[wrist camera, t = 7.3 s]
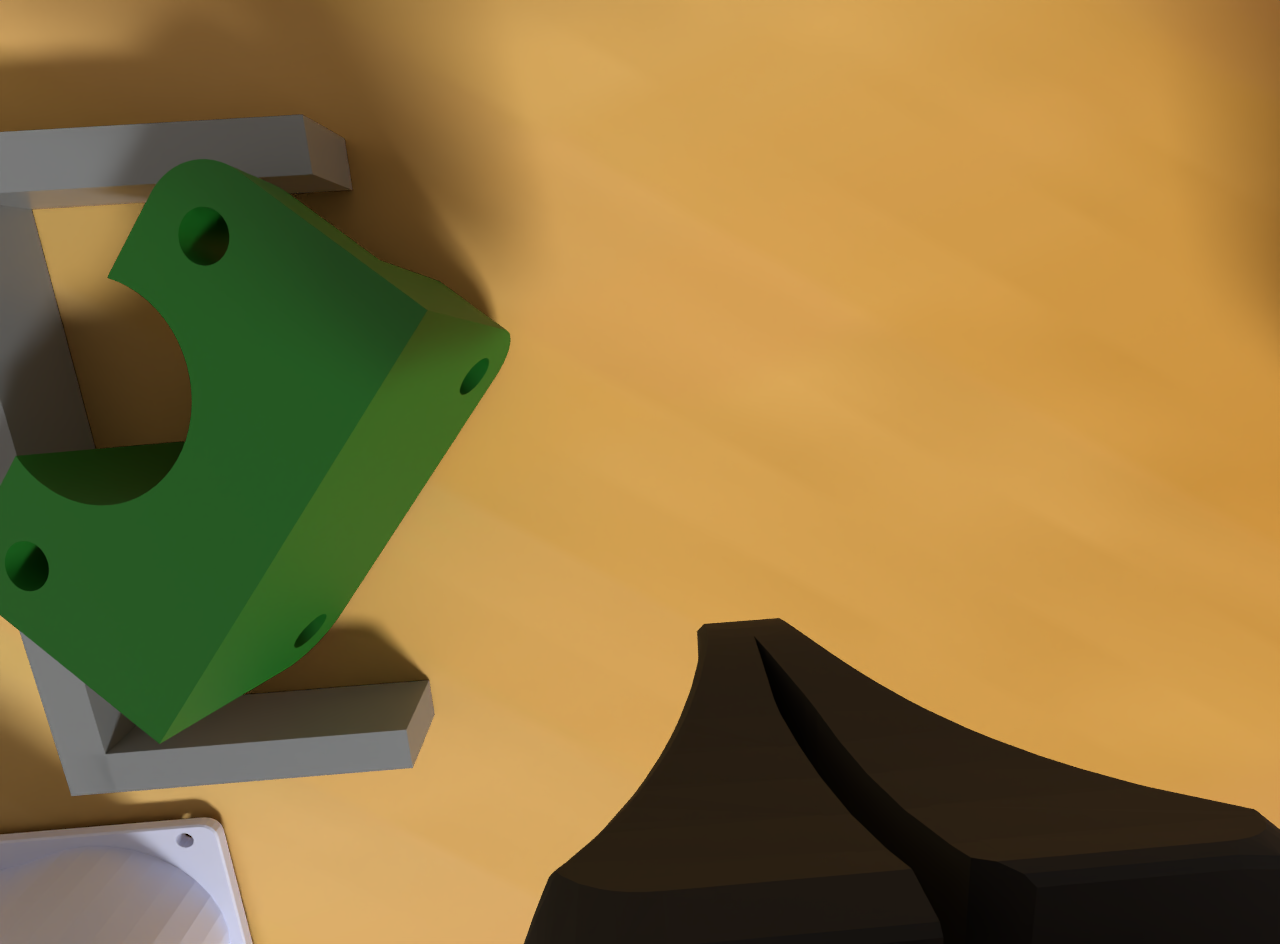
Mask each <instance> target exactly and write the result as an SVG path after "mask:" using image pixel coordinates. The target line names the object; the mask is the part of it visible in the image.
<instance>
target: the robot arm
mask: <svg viewBox="0 0 1280 944" xmlns="http://www.w3.org/2000/svg"><path fill="white" fill-rule="evenodd" d="M697 636H698V658H699V659H698V664H697V668H696V672H695V676H694V680H693V684H692V687H691V690H690V693H689V696H688V698H687V701H686V703H685V706H684V709H683V711H682V714H681V716H680V719H679V721H678V723H677V725H676V727H675V730H674V732H673V734H672V736H671V738H670V740H669V741H668V743H667V745H666V747H665V749H664V750H663V752H662V754H661V756H660V757H659V759H658V760H657V762H656V763H655V765H654V766H653V768H652V769H651V771H650V773H649V774H648V776H647V777H646V779H645V780H644V782H643V783H642V784H641V786H640V787H639V788H638V790H637V791H636V792H635V794H634V795H633V796H632V797H631V799H630V800H629V801H628V802H627V803H626V804H625V805H624V807H623V808H622V809H621V810H620V811H619V812H618V813H617V814H616V816H615V817H614V818H613V819H612V820H611V821H610V822H609V824H608V825H607V826H606V827H605V828H604V829H603V830H602V831H601V832H600V833H599V834H598V835H597V836H596V837H595V838H594V839H593V840H592V841H591V842H590V843H588V844H587V845H586V846H585V847H584V848H582V849H581V850H580V851H579V852H578V853H577V854H575V855H574V856H573V857H572V858H571V859H570V860H568V861H567V862H566V863H565V864H563V865H562V866H561V867H559V868H558V869H557V870H556V871H554V872H553V873H552V874H551V876H550V877H549V879H548V881H547V884H546V886H545V888H544V891H543V893H542V896H541V899H540V901H539V904H538V906H537V909H536V911H535V914H534V916H533V919H532V922H531V925H530V928H529V931H528V934H527V937H526V939H525V942H524V944H1280V829H1278V828H1277V827H1276V826H1275V825H1274V824H1272V823H1271V822H1270V821H1269V820H1267V819H1266V818H1265V817H1264V816H1262V815H1261V814H1260V813H1259V812H1257V811H1256V810H1254V809H1250V808H1245V807H1241V806H1236V805H1231V804H1226V803H1222V802H1217V801H1212V800H1207V799H1203V798H1198V797H1193V796H1188V795H1184V794H1179V793H1174V792H1169V791H1165V790H1160V789H1155V788H1151V787H1146V786H1142V785H1138V784H1134V783H1130V782H1127V781H1123V780H1119V779H1116V778H1112V777H1109V776H1105V775H1101V774H1098V773H1094V772H1091V771H1087V770H1083V769H1080V768H1076V767H1073V766H1070V765H1067V764H1064V763H1060V762H1057V761H1054V760H1051V759H1048V758H1045V757H1042V756H1039V755H1036V754H1033V753H1030V752H1028V751H1025V750H1022V749H1019V748H1017V747H1014V746H1011V745H1008V744H1006V743H1003V742H1000V741H997V740H995V739H992V738H990V737H987V736H985V735H982V734H980V733H977V732H975V731H972V730H970V729H968V728H965V727H963V726H961V725H959V724H957V723H955V722H952V721H950V720H948V719H946V718H944V717H942V716H939V715H937V714H935V713H933V712H931V711H929V710H926V709H924V708H922V707H921V706H919V705H917V704H915V703H913V702H911V701H909V700H907V699H905V698H903V697H902V696H900V695H898V694H896V693H895V692H893V691H891V690H889V689H887V688H886V687H884V686H882V685H880V684H879V683H877V682H875V681H874V680H872V679H870V678H869V677H867V676H865V675H864V674H862V673H860V672H859V671H857V670H856V669H854V668H853V667H851V666H849V665H848V664H846V663H845V662H843V661H842V660H840V659H839V658H837V657H836V656H834V655H833V654H831V653H830V652H828V651H827V650H825V649H824V648H823V647H821V646H820V645H818V644H817V643H815V642H814V641H813V640H811V639H810V638H808V637H807V636H805V635H804V634H803V633H801V632H800V631H798V630H797V629H795V628H794V627H792V626H791V625H789V624H788V623H786V622H785V621H783V620H781V619H780V618H775V619H763V620H750V621H737V622H724V623H712V624H704V625H703V626H702V627H701V628H700V629H699V630H698V631H697ZM185 834H189V835H190V836H192V838H190V837H188V836H186V835H185ZM0 944H253V943H252V939H251V935H250V931H249V927H248V923H247V919H246V915H245V911H244V907H243V904H242V900H241V896H240V892H239V888H238V884H237V880H236V876H235V872H234V868H233V864H232V860H231V856H230V852H229V849H228V845H227V841H226V837H225V833H224V829H223V827H222V825H221V824H220V823H219V822H218V821H217V820H215V819H212V818H206V817H202V818H190V819H178V820H166V821H154V822H142V823H130V824H119V825H107V826H95V827H83V828H71V829H59V830H47V831H35V832H23V833H12V834H0Z"/></svg>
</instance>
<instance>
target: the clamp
mask: <svg viewBox="0 0 1280 944" xmlns="http://www.w3.org/2000/svg"><path fill="white" fill-rule="evenodd" d="M107 278H109V279H112V280H115V281H118V282H120V283H122V284H124V285H126V286H128V287H129V288H131V289H133V290H134V291H136V292H137V293H139V294H140V295H141V296H142V297H144V298H145V299H146V300H147V301H148V302H149V303H150V304H151V305H152V306H153V307H154V308H156V310H157V311H158V312H159V313H160V314H161V316H162V317H163V318H164V319H165V321H166V322H167V324H168V325H169V327H170V328H171V330H172V331H173V333H174V335H175V337H176V339H177V340H178V343H179V345H180V347H181V350H182V352H183V355H184V358H185V361H186V364H187V368H188V372H189V377H190V384H191V395H192V408H191V419H190V425H189V430H188V434H187V438H186V441H185V442H184V441H182V442H171V443H159V444H147V445H136V446H124V447H112V448H101V449H89V450H77V451H66V452H54V453H42V454H31V455H19V456H15V458H14V460H13V462H12V464H11V466H10V468H9V470H8V472H7V474H6V476H5V478H4V479H3V481H2V483H1V485H0V615H1V616H2V617H3V618H4V619H6V620H7V621H8V622H9V623H11V624H12V625H13V626H14V627H16V628H17V629H18V630H19V631H21V632H22V633H23V634H24V635H25V636H27V637H28V638H29V639H30V640H32V641H33V642H34V643H35V644H37V645H38V646H39V647H40V648H42V649H43V650H44V651H45V652H46V653H48V654H49V655H50V656H51V657H53V658H54V659H55V660H56V661H58V662H59V663H60V664H61V665H63V666H64V667H65V668H66V669H67V670H69V671H70V672H71V673H72V674H74V675H75V676H76V677H77V678H79V679H80V680H81V681H82V682H84V683H85V684H86V685H87V686H89V687H90V688H91V689H92V690H93V691H95V692H96V693H97V694H98V695H100V696H101V697H102V698H103V699H105V700H106V701H107V702H108V703H110V704H111V705H112V706H113V707H114V708H116V709H117V710H118V711H119V712H121V713H122V714H123V715H124V716H126V717H127V718H128V719H129V720H131V721H132V722H133V723H134V724H135V725H137V726H138V727H139V728H140V729H142V730H143V731H144V732H145V733H147V734H148V735H149V736H150V737H152V738H153V739H154V740H155V741H156V742H158V743H159V744H160V743H162V742H164V741H166V740H167V739H169V738H171V737H172V736H174V735H176V734H177V733H179V732H181V731H182V730H184V729H186V728H187V727H189V726H191V725H193V724H194V723H196V722H198V721H199V720H201V719H203V718H204V717H206V716H208V715H209V714H211V713H213V712H214V711H216V710H218V709H220V708H221V707H223V706H225V705H226V704H228V703H230V702H231V701H233V700H235V699H236V698H238V697H240V696H241V695H243V694H245V693H246V692H248V691H250V690H252V689H253V688H255V687H257V686H258V685H260V684H262V683H263V682H265V681H267V680H268V679H270V678H272V677H273V676H275V675H277V674H279V673H280V672H282V671H284V670H285V669H287V668H289V667H290V666H291V665H293V664H294V663H296V662H297V661H298V660H299V659H301V658H302V657H303V656H304V655H305V654H306V653H308V652H309V651H310V650H311V649H312V648H313V647H314V646H315V645H316V644H317V643H318V642H319V641H320V640H321V639H322V637H323V636H324V635H325V634H326V633H327V632H328V631H329V629H330V628H331V627H332V626H333V624H334V623H335V622H336V620H337V619H338V617H339V616H340V614H341V613H342V611H343V610H344V608H345V607H346V605H347V604H348V602H349V601H350V599H351V598H352V596H353V594H354V593H355V591H356V590H357V588H358V587H359V585H360V584H361V582H362V581H363V579H364V578H365V576H366V575H367V573H368V571H369V570H370V568H371V567H372V565H373V564H374V562H375V561H376V559H377V558H378V556H379V555H380V553H381V552H382V550H383V548H384V547H385V545H386V544H387V542H388V541H389V539H390V538H391V536H392V535H393V533H394V532H395V530H396V529H397V527H398V525H399V524H400V522H401V521H402V519H403V518H404V516H405V515H406V513H407V512H408V510H409V509H410V507H411V506H412V504H413V502H414V501H415V499H416V498H417V496H418V495H419V493H420V492H421V490H422V489H423V487H424V486H425V484H426V483H427V481H428V479H429V478H430V476H431V475H432V473H433V472H434V470H435V469H436V467H437V466H438V464H439V463H440V461H441V460H442V458H443V456H444V455H445V453H446V452H447V450H448V449H449V447H450V446H451V444H452V443H453V441H454V440H455V438H456V437H457V435H458V433H459V432H460V430H461V429H462V427H463V426H464V424H465V423H466V421H467V420H468V418H469V417H470V415H471V414H472V412H473V410H474V409H475V407H476V406H477V404H478V403H479V401H480V400H481V398H482V397H483V395H484V394H485V392H486V391H487V389H488V387H489V386H490V384H491V383H492V381H493V380H494V378H495V377H496V375H497V374H498V372H499V370H500V368H501V366H502V365H503V363H504V360H505V358H506V356H507V353H508V350H509V346H510V334H509V332H508V331H507V330H505V329H504V328H503V327H501V326H500V325H499V324H497V323H496V322H494V321H493V320H492V319H490V318H489V317H488V316H486V315H485V314H483V313H482V312H481V311H479V310H478V309H477V308H475V307H474V306H473V305H471V304H470V303H468V302H467V301H466V300H464V299H463V298H462V297H460V296H459V295H458V294H456V293H455V292H453V291H452V290H451V289H449V288H448V287H447V286H445V285H444V284H442V283H441V282H439V281H437V280H434V279H432V278H429V277H426V276H423V275H420V274H417V273H415V272H412V271H409V270H406V269H403V268H401V267H398V266H395V265H392V264H389V263H386V262H384V261H381V260H379V259H377V258H376V257H375V256H373V255H372V254H370V253H369V252H368V251H366V250H365V249H364V248H362V247H361V246H360V245H358V244H357V243H356V242H354V241H353V240H351V239H350V238H349V237H347V236H346V235H345V234H343V233H342V232H341V231H339V230H338V229H336V228H335V227H334V226H332V225H331V224H330V223H328V222H327V221H326V220H324V219H323V218H321V217H320V216H319V215H317V214H316V213H315V212H313V211H312V210H311V209H309V208H308V207H306V206H305V205H304V204H302V203H301V202H300V201H298V200H297V199H296V198H294V197H293V196H292V195H290V194H289V193H287V192H286V191H285V190H283V189H281V188H280V187H278V186H276V185H274V184H271V183H269V182H267V181H264V180H262V179H260V178H258V177H255V176H253V175H251V174H248V173H246V172H244V171H241V170H239V169H237V168H234V167H232V166H230V165H228V164H225V163H222V162H220V161H216V160H210V159H197V160H191V161H187V162H184V163H182V164H179V165H177V166H176V167H174V168H172V169H171V170H170V171H168V172H167V173H166V174H165V175H164V176H163V177H162V178H161V179H160V180H159V181H158V182H157V184H156V185H155V187H154V188H153V190H152V192H151V193H150V195H149V197H148V199H147V201H146V203H145V205H144V207H143V209H142V211H141V213H140V215H139V217H138V219H137V221H136V223H135V224H134V226H133V228H132V230H131V232H130V234H129V236H128V238H127V240H126V242H125V244H124V246H123V248H122V250H121V252H120V254H119V256H118V258H117V260H116V261H115V263H114V265H113V267H112V269H111V271H110V273H109V275H108V277H107Z"/></svg>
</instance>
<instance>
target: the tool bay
mask: <svg viewBox="0 0 1280 944" xmlns="http://www.w3.org/2000/svg"><path fill="white" fill-rule="evenodd" d="M197 159H210V160H216V161H220V162H222V163H225V164H228V165H230V166H232V167H234V168H237V169H239V170H241V171H244V172H246V173H248V174H251V175H253V176H255V177H258V178H260V179H262V180H264V181H267V182H269V183H271V184H274V185H276V186H278V187H280V188H281V189H283V190H285V191H286V192H287V193H289V194H293V193H309V192H326V191H342V190H353V189H352V183H351V176H350V170H349V163H348V157H347V151H346V144H345V139H344V138H343V137H341V136H339V135H337V134H336V133H334V132H332V131H330V130H329V129H327V128H325V127H323V126H322V125H320V124H318V123H317V122H315V121H313V120H311V119H310V118H308V117H306V116H304V115H286V116H268V117H251V118H234V119H216V120H199V121H182V122H165V123H147V124H130V125H113V126H95V127H78V128H61V129H44V130H26V131H9V132H0V485H1V483H2V481H3V479H4V478H5V476H6V474H7V472H8V470H9V468H10V466H11V464H12V462H13V460H14V458H15V456H19V455H31V454H42V453H54V452H66V451H77V450H89V449H95V445H94V442H93V438H92V434H91V430H90V427H89V423H88V419H87V415H86V412H85V408H84V404H83V400H82V397H81V393H80V389H79V385H78V382H77V378H76V374H75V370H74V366H73V363H72V359H71V355H70V351H69V348H68V344H67V340H66V336H65V333H64V329H63V325H62V321H61V318H60V314H59V310H58V306H57V303H56V299H55V295H54V291H53V288H52V284H51V280H50V276H49V273H48V269H47V265H46V261H45V258H44V254H43V250H42V246H41V243H40V239H39V235H38V231H37V228H36V224H35V220H34V216H33V213H32V209H46V208H62V207H79V206H95V205H112V204H128V203H145V202H146V201H147V199H148V197H149V195H150V193H151V192H152V190H153V188H154V187H155V185H156V184H157V182H158V181H159V180H160V179H161V178H162V177H163V176H164V175H165V174H166V173H167V172H168V171H170V170H171V169H172V168H174V167H176V166H177V165H179V164H182V163H184V162H187V161H191V160H197ZM20 634H21V637H22V641H23V644H24V647H25V650H26V653H27V656H28V660H29V663H30V666H31V669H32V672H33V675H34V679H35V682H36V685H37V688H38V691H39V694H40V698H41V701H42V704H43V707H44V710H45V713H46V717H47V720H48V723H49V726H50V729H51V732H52V736H53V739H54V742H55V745H56V748H57V751H58V755H59V758H60V761H61V764H62V767H63V770H64V774H65V777H66V780H67V783H68V786H69V789H70V793H71V796H79V795H91V794H103V793H115V792H127V791H139V790H151V789H163V788H175V787H187V786H199V785H211V784H224V783H236V782H248V781H260V780H272V779H284V778H296V777H308V776H320V775H332V774H344V773H356V772H368V771H380V770H393V769H405V768H413V766H414V764H415V761H416V759H417V756H418V754H419V751H420V749H421V747H422V744H423V742H424V739H425V737H426V734H427V732H428V729H429V727H430V724H431V722H432V720H433V717H434V715H435V714H434V708H433V702H432V695H431V689H430V682H429V680H423V681H411V682H398V683H386V684H373V685H360V686H348V687H335V688H323V689H310V690H298V691H285V692H272V693H260V694H247V695H241V696H240V697H238V698H236V699H235V700H233V701H231V702H230V703H228V704H226V705H225V706H223V707H221V708H220V709H218V710H216V711H214V712H213V713H211V714H209V715H208V716H206V717H204V718H203V719H201V720H199V721H198V722H196V723H194V724H193V725H191V726H189V727H187V728H186V729H184V730H182V731H181V732H179V733H177V734H176V735H174V736H172V737H171V738H169V739H167V740H166V741H164V742H162V743H160V744H159V743H158V742H156V741H155V740H154V739H153V738H152V737H150V736H149V735H148V734H147V733H145V732H144V731H143V730H142V729H140V728H139V727H138V726H137V725H135V724H134V723H133V722H132V721H131V720H129V719H128V718H127V717H126V716H124V715H123V714H122V713H121V712H119V711H118V710H117V709H116V708H114V707H113V706H112V705H111V704H110V703H108V702H107V701H106V700H105V699H103V698H102V697H101V696H100V695H98V694H97V693H96V692H95V691H93V690H92V689H91V688H90V687H89V686H87V685H86V684H85V683H84V682H82V681H81V680H80V679H79V678H77V677H76V676H75V675H74V674H72V673H71V672H70V671H69V670H67V669H66V668H65V667H64V666H63V665H61V664H60V663H59V662H58V661H56V660H55V659H54V658H53V657H51V656H50V655H49V654H48V653H46V652H45V651H44V650H43V649H42V648H40V647H39V646H38V645H37V644H35V643H34V642H33V641H32V640H30V639H29V638H28V637H27V636H25V635H24V634H23V633H22V632H21V631H20Z"/></svg>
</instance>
